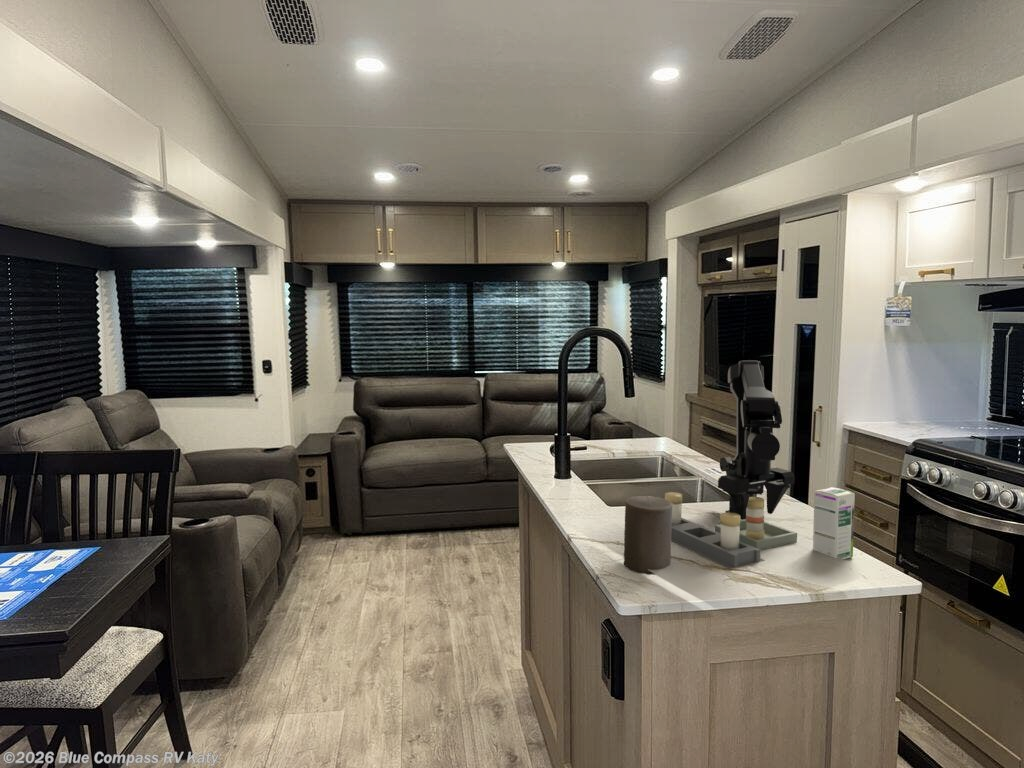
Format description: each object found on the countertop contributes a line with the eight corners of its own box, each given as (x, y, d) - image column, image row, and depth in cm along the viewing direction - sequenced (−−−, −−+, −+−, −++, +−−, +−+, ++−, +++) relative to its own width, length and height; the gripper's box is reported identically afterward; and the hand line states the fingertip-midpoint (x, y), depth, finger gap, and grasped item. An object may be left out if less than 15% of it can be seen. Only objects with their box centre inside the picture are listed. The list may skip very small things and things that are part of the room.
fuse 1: (673, 527, 152) (674, 491, 151) (685, 532, 149) (685, 495, 148) (660, 530, 151) (661, 493, 150) (671, 535, 147) (672, 497, 146)
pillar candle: (623, 572, 128) (625, 501, 126) (623, 555, 137) (625, 488, 136) (672, 576, 126) (675, 504, 124) (669, 558, 136) (671, 490, 134)
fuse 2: (729, 551, 136) (730, 511, 135) (743, 557, 133) (744, 516, 132) (715, 554, 134) (716, 514, 134) (729, 561, 131) (730, 519, 130)
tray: (753, 529, 154) (753, 517, 153) (796, 545, 142) (797, 532, 142) (714, 537, 148) (714, 525, 148) (756, 555, 137) (756, 541, 136)
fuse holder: (642, 532, 152) (643, 518, 152) (675, 526, 156) (675, 512, 156) (729, 573, 127) (729, 556, 127) (764, 564, 131) (765, 548, 131)
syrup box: (836, 562, 132) (839, 495, 131) (811, 553, 137) (814, 489, 136) (853, 557, 135) (856, 492, 133) (828, 549, 140) (831, 485, 139)
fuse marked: (754, 533, 148) (754, 495, 147) (768, 537, 144) (768, 499, 143) (742, 536, 146) (741, 498, 145) (755, 541, 142) (755, 502, 142)
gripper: (759, 440, 154) (757, 502, 156) (701, 447, 146) (699, 512, 148) (797, 448, 144) (795, 514, 146) (737, 456, 136) (735, 526, 138)
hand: (755, 516), depth 145 cm, fingers open, 9 cm apart
